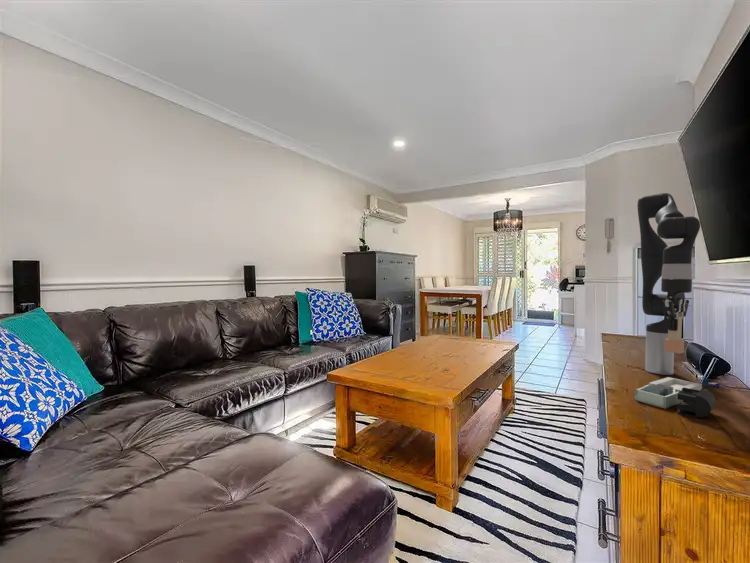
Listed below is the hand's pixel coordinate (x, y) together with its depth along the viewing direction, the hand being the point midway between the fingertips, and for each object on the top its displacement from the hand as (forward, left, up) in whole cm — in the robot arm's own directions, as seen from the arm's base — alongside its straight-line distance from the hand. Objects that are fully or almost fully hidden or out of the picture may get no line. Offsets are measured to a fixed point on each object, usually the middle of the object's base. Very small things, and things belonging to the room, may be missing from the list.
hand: (675, 329), depth 112 cm
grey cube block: (+5, -1, -22) cm, 23 cm away
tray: (+8, -1, -23) cm, 24 cm away
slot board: (-5, -1, -23) cm, 23 cm away
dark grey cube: (+7, -2, -20) cm, 22 cm away
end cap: (+10, +9, -23) cm, 27 cm away
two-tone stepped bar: (0, 0, -7) cm, 7 cm away
